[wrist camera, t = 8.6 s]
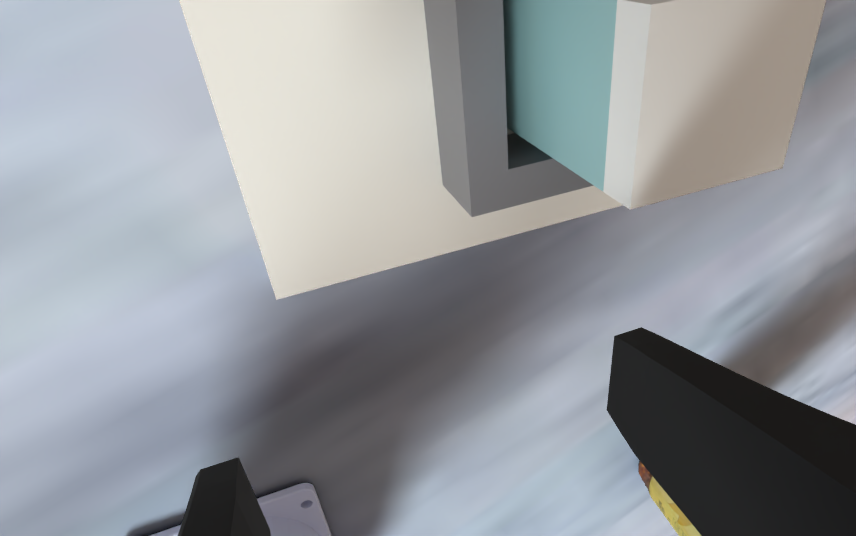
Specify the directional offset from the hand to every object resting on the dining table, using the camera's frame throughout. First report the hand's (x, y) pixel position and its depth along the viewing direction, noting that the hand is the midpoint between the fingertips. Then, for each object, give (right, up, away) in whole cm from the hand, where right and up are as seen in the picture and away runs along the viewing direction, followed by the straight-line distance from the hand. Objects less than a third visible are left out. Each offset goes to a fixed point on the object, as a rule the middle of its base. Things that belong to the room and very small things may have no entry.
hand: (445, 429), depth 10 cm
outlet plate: (+1, +9, +7) cm, 12 cm away
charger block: (+3, +10, +6) cm, 12 cm away
